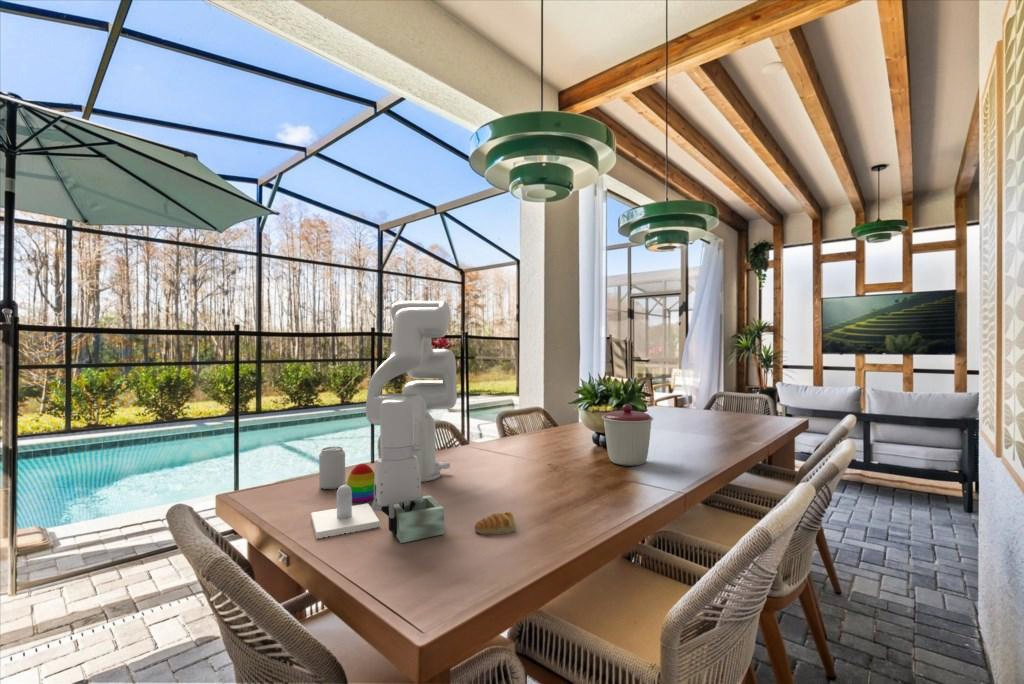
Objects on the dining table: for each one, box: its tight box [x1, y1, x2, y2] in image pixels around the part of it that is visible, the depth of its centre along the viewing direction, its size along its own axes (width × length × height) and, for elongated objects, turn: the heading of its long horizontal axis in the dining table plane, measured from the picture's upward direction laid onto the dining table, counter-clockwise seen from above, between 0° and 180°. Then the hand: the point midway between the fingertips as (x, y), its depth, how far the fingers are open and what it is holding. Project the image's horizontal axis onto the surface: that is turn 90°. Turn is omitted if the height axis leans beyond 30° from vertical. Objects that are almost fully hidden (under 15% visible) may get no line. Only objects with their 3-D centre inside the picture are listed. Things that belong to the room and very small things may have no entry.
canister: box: [601, 403, 654, 467], centre depth 171 cm, size 18×18×21 cm
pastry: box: [474, 511, 517, 536], centre depth 111 cm, size 9×7×4 cm
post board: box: [310, 484, 380, 540], centre depth 116 cm, size 14×14×9 cm
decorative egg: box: [346, 463, 375, 503], centre depth 133 cm, size 8×8×10 cm
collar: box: [394, 495, 445, 544], centre depth 110 cm, size 10×10×6 cm
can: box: [318, 445, 346, 490], centre depth 145 cm, size 8×8×12 cm
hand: (398, 531), depth 108 cm, fingers closed on collar, 1 cm apart
